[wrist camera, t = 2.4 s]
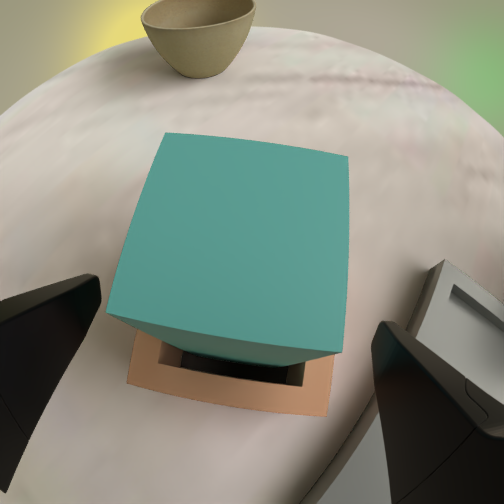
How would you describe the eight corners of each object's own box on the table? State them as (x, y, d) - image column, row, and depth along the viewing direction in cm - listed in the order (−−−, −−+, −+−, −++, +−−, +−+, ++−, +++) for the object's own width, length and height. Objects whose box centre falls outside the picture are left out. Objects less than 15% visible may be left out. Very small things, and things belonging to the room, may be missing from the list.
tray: (455, 552, 10) (468, 559, 9) (294, 509, 13) (300, 523, 12) (545, 360, 16) (561, 357, 15) (430, 269, 19) (445, 258, 17)
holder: (303, 405, 16) (326, 416, 11) (156, 382, 16) (126, 383, 12) (319, 267, 19) (342, 232, 15) (184, 247, 19) (168, 206, 15)
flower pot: (157, 49, 28) (147, -3, 22) (246, 39, 29) (247, -14, 22) (149, 102, 25) (132, 37, 18) (260, 89, 25) (265, 22, 19)
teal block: (273, 368, 17) (342, 352, 5) (196, 355, 17) (105, 312, 5) (283, 294, 18) (348, 156, 7) (209, 283, 19) (165, 132, 7)
